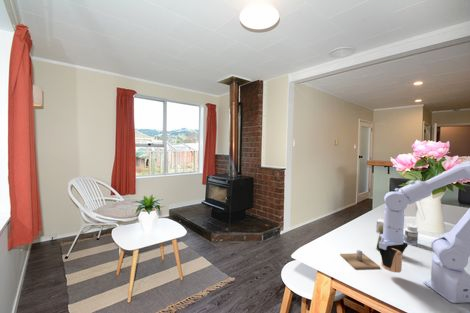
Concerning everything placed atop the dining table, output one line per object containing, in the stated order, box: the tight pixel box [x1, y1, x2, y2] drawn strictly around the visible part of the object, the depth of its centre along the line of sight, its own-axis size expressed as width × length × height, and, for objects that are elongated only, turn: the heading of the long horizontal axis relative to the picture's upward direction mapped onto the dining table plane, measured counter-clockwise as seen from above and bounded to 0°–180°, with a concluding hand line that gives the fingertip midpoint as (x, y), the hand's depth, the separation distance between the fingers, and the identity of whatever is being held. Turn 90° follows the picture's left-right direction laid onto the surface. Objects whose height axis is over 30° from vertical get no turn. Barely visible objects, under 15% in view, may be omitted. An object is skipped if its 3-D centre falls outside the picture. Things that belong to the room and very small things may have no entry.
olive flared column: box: [375, 225, 383, 252], centre depth 95 cm, size 6×6×11 cm
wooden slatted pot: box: [380, 248, 403, 273], centre depth 76 cm, size 6×6×6 cm
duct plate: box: [339, 249, 381, 270], centre depth 86 cm, size 10×10×4 cm
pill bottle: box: [404, 223, 419, 246], centre depth 102 cm, size 5×5×8 cm
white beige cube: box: [375, 218, 384, 234], centre depth 115 cm, size 6×6×6 cm
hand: (391, 263), depth 76 cm, fingers closed on wooden slatted pot, 6 cm apart
